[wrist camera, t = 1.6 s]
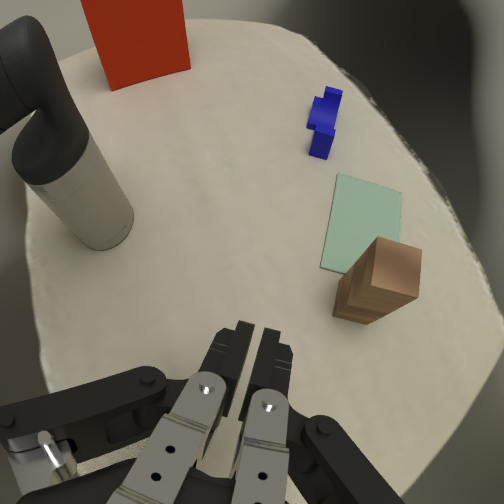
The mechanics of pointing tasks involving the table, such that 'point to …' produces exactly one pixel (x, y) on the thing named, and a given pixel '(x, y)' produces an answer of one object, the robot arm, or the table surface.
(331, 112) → the blue cradle block
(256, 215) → the table surface
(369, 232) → the sage mat
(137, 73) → the file binder
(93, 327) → the table surface
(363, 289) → the walnut block
